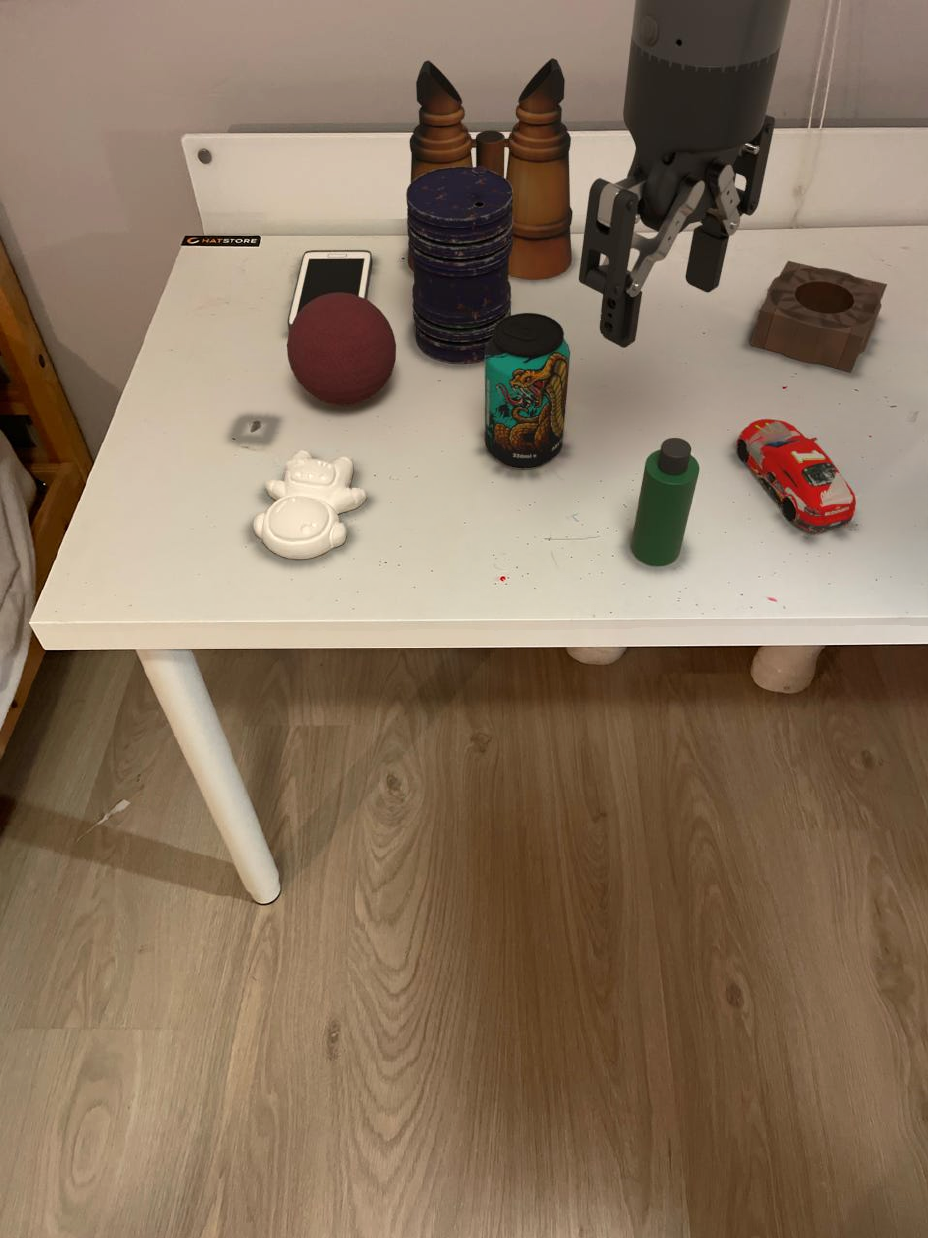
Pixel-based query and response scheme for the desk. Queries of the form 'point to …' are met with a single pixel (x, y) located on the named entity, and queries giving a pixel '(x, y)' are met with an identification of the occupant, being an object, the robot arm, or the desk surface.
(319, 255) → the cell phone
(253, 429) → the dark square tile
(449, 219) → the dark blue cylinder
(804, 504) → the race car
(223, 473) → the desk surface
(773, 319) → the ashtray
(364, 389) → the decorative ball
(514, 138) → the binoculars
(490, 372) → the beverage can
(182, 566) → the desk surface
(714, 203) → the robot arm
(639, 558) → the bottle
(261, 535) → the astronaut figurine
